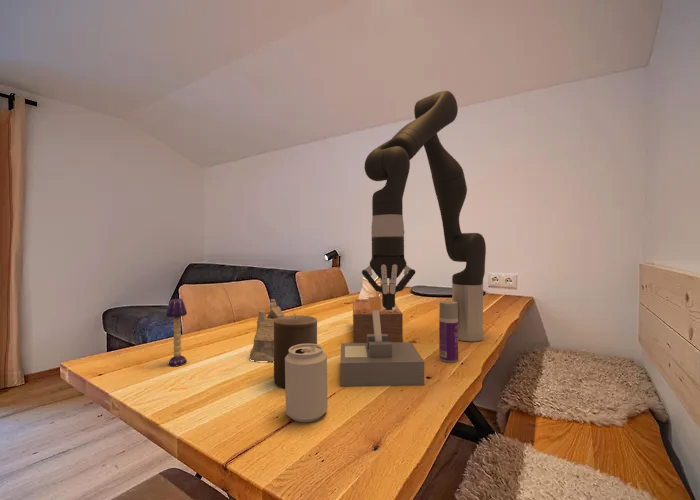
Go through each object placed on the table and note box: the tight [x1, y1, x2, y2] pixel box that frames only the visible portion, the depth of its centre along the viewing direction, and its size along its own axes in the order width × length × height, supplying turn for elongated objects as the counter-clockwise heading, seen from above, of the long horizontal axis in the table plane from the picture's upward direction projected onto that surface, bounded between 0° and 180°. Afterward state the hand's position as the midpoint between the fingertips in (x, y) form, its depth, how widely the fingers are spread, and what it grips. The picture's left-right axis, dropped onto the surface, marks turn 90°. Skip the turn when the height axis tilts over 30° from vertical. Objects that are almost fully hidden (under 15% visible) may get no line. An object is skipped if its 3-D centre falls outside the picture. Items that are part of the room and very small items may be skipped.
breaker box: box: [339, 334, 425, 387], centre depth 78 cm, size 14×18×8 cm
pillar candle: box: [273, 313, 318, 389], centre depth 75 cm, size 10×10×15 cm
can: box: [284, 343, 328, 423], centre depth 60 cm, size 8×8×12 cm
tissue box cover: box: [352, 298, 404, 343], centre depth 110 cm, size 26×14×10 cm, turn 0°
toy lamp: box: [166, 298, 188, 367], centre depth 85 cm, size 5×5×17 cm
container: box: [438, 300, 459, 364], centre depth 86 cm, size 5×5×15 cm
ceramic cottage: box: [249, 298, 286, 361], centre depth 93 cm, size 16×16×15 cm
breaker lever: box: [368, 295, 382, 342], centre depth 78 cm, size 4×2×12 cm, turn 1°
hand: (388, 309), depth 78 cm, fingers closed
